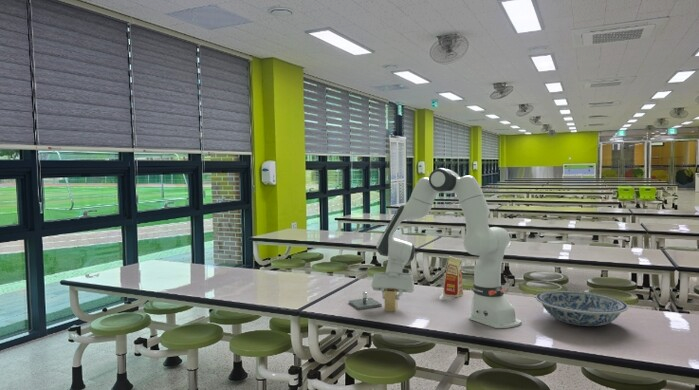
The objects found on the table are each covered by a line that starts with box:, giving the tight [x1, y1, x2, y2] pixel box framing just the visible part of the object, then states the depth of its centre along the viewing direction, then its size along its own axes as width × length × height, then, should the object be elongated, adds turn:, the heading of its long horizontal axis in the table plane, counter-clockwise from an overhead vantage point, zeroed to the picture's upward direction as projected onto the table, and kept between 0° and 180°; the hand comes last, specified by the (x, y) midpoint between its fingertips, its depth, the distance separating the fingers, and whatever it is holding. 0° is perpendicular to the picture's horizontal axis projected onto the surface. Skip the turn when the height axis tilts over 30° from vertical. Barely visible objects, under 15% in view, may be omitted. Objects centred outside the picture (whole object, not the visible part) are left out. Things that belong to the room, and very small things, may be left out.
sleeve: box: [384, 289, 398, 312], centre depth 216 cm, size 5×5×9 cm
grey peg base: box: [348, 291, 382, 311], centre depth 224 cm, size 12×12×6 cm
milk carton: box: [442, 255, 464, 298], centre depth 238 cm, size 9×9×20 cm
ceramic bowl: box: [535, 290, 629, 327], centre depth 192 cm, size 34×34×10 cm
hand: (390, 298), depth 215 cm, fingers closed on sleeve, 5 cm apart
